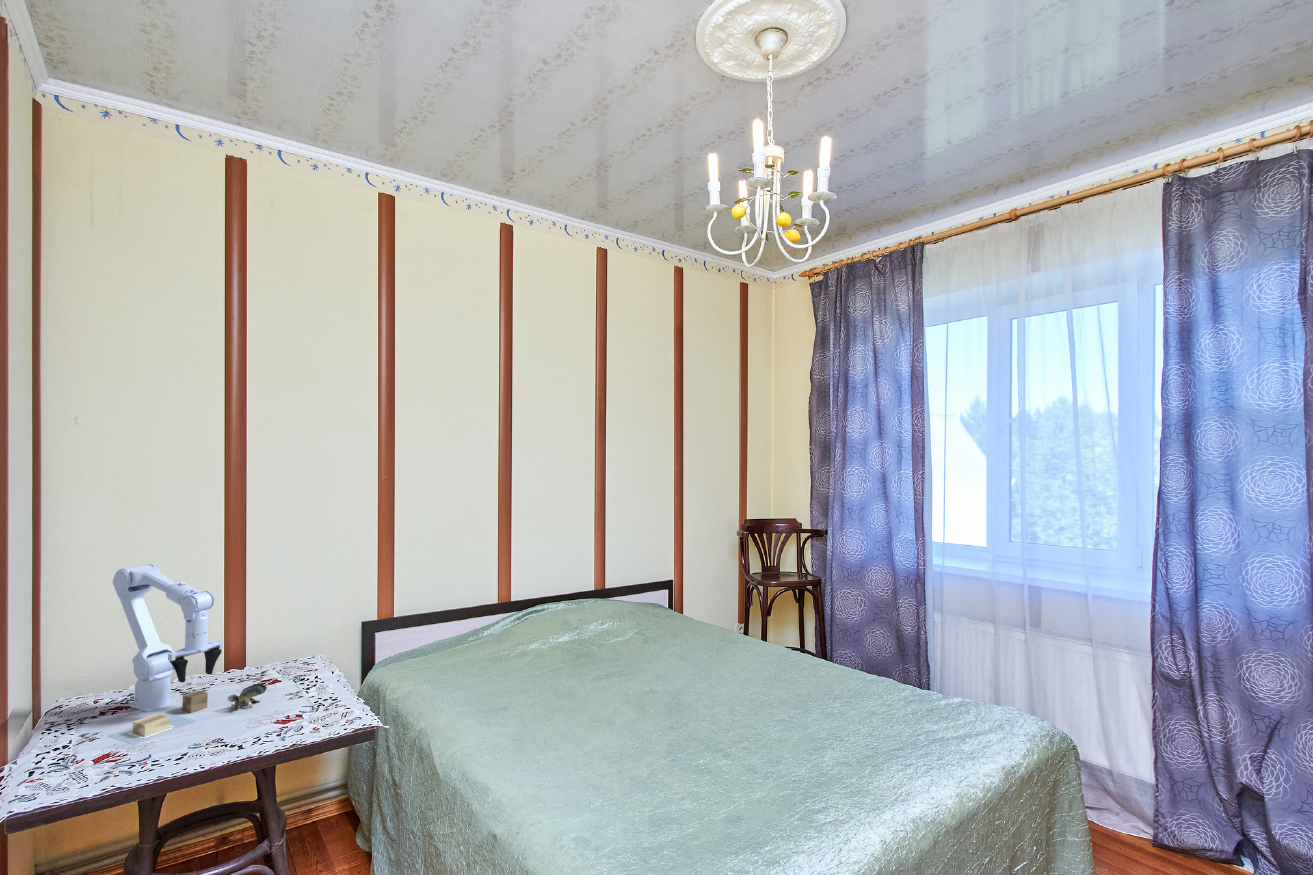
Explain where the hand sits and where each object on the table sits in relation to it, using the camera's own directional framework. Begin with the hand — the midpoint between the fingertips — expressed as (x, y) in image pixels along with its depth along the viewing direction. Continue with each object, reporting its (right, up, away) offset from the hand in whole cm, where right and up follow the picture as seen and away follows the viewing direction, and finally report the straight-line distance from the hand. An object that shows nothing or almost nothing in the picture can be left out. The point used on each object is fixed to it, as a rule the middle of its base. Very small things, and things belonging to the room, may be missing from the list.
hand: (195, 677), depth 189 cm
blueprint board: (-2, -9, -14) cm, 17 cm away
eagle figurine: (+14, -10, +3) cm, 18 cm away
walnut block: (0, -10, 0) cm, 10 cm away
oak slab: (-1, -9, -15) cm, 18 cm away
